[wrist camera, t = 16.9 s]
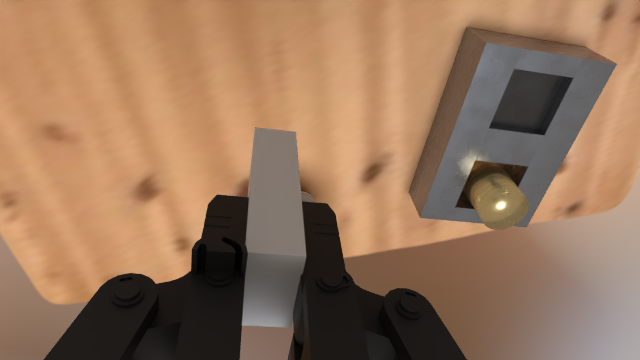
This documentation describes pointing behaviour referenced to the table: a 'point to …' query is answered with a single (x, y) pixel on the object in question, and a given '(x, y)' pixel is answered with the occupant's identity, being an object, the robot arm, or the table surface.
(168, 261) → the table surface
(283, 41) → the table surface
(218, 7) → the table surface
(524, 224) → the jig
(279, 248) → the robot arm
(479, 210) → the brass cylinder
